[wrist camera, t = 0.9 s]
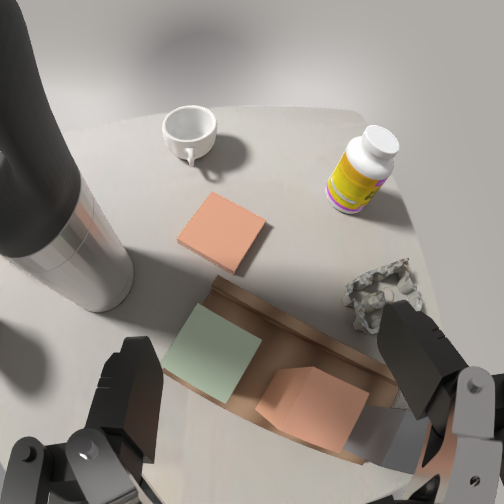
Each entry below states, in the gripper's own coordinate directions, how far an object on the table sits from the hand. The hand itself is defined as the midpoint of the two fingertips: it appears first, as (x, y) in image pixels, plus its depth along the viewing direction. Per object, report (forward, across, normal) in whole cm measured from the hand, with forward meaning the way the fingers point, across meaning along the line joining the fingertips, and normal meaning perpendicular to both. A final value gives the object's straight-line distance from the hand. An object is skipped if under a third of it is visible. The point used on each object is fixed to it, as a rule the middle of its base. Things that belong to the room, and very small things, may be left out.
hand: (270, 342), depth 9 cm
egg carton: (+21, -17, +17) cm, 32 cm away
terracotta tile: (+28, +2, +7) cm, 29 cm away
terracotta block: (+11, -2, +20) cm, 23 cm away
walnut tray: (+14, -3, +21) cm, 25 cm away
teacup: (+38, +6, -2) cm, 38 cm away
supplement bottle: (+33, -16, +6) cm, 37 cm away
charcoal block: (+8, -10, +24) cm, 27 cm away
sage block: (+15, +5, +16) cm, 22 cm away
